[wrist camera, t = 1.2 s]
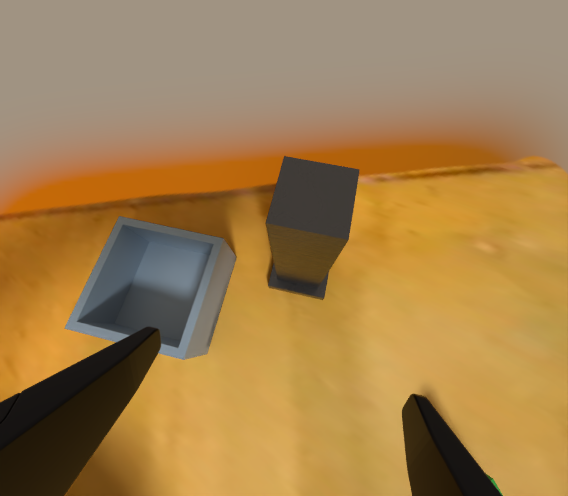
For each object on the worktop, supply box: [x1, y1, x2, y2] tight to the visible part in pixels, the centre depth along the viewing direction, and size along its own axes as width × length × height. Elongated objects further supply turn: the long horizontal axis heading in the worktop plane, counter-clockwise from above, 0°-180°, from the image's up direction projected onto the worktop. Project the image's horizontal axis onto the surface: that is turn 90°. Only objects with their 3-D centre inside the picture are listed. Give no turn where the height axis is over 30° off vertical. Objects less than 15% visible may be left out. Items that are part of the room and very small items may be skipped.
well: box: [65, 216, 236, 360], centre depth 21 cm, size 9×9×5 cm
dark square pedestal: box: [266, 156, 359, 300], centre depth 17 cm, size 5×5×13 cm
